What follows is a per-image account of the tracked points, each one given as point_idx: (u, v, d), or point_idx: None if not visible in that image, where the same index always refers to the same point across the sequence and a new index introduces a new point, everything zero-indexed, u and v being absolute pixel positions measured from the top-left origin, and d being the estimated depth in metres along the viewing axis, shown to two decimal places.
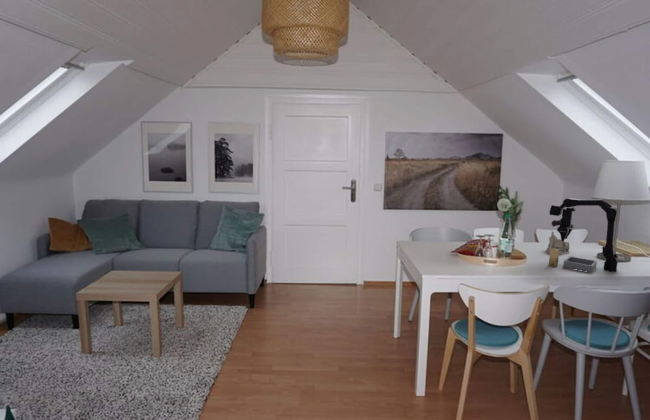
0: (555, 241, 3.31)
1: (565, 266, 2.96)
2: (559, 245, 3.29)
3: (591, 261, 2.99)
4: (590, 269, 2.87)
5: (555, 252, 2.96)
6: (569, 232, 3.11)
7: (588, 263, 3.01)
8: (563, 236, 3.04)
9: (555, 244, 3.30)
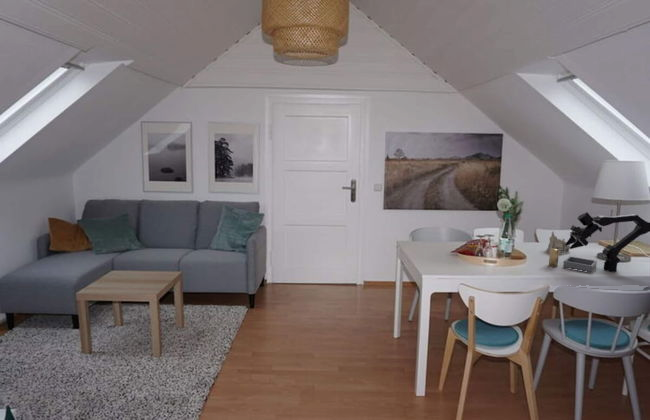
0: (555, 241, 3.31)
1: (565, 266, 2.96)
2: (559, 245, 3.29)
3: (591, 261, 2.99)
4: (590, 269, 2.87)
5: (555, 252, 2.96)
6: (573, 242, 3.00)
7: (588, 263, 3.01)
8: (575, 245, 2.90)
9: (555, 244, 3.29)
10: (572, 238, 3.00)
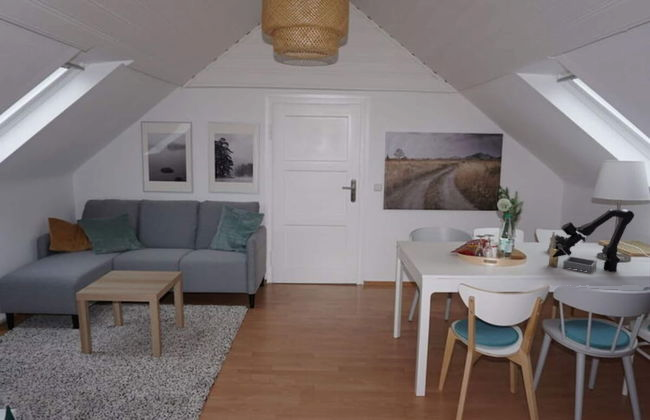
0: None
1: (565, 266, 2.96)
2: None
3: (591, 261, 2.99)
4: (590, 269, 2.87)
5: (555, 252, 2.96)
6: None
7: (588, 263, 3.01)
8: (558, 254, 2.95)
9: None
10: (557, 248, 3.01)
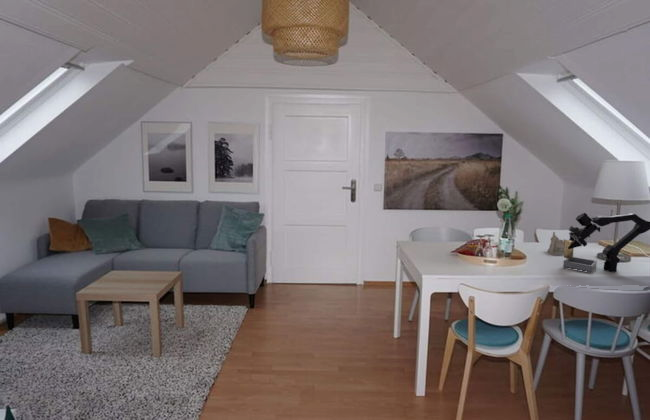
0: (557, 242, 3.29)
1: (565, 266, 2.96)
2: (561, 246, 3.28)
3: (591, 261, 2.99)
4: (590, 269, 2.87)
5: (570, 243, 2.94)
6: None
7: (588, 263, 3.01)
8: (573, 245, 2.92)
9: (557, 245, 3.28)
10: (572, 239, 2.99)
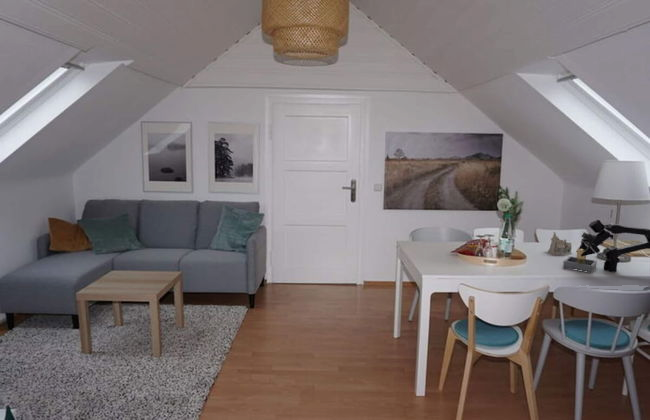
0: (557, 242, 3.29)
1: (565, 266, 2.96)
2: (562, 246, 3.27)
3: (591, 261, 2.99)
4: (590, 269, 2.87)
5: None
6: None
7: (588, 263, 3.01)
8: (587, 253, 2.90)
9: (558, 245, 3.28)
10: (583, 245, 3.00)
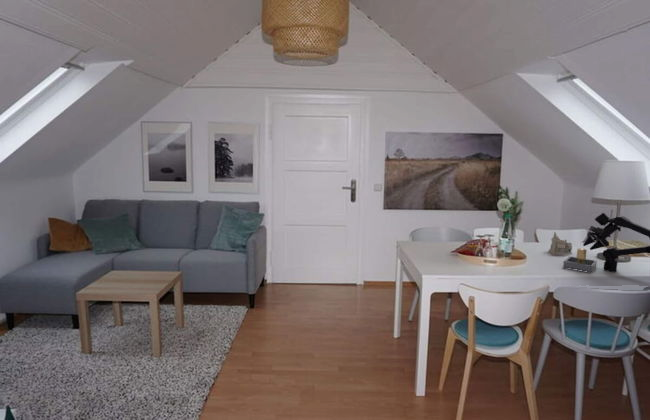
0: (558, 242, 3.28)
1: (565, 266, 2.96)
2: (562, 246, 3.27)
3: (591, 261, 2.99)
4: (590, 269, 2.87)
5: (582, 252, 2.94)
6: (591, 242, 2.99)
7: (588, 263, 3.01)
8: (596, 246, 2.89)
9: (558, 245, 3.27)
10: (590, 238, 2.99)
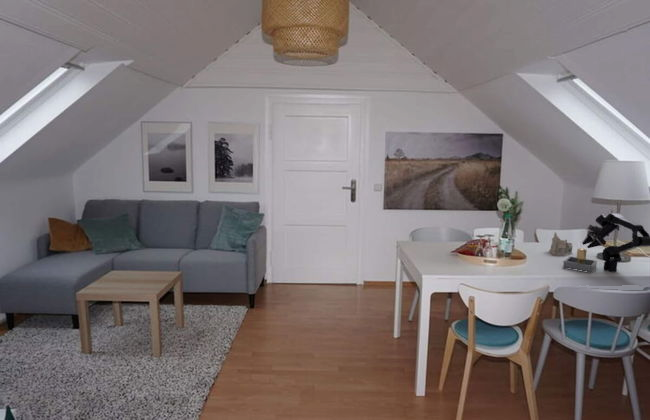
0: (558, 242, 3.28)
1: (565, 266, 2.96)
2: (563, 246, 3.26)
3: (591, 261, 2.99)
4: (590, 269, 2.87)
5: (582, 252, 2.94)
6: (590, 241, 3.03)
7: (588, 263, 3.01)
8: (593, 245, 2.93)
9: (559, 245, 3.27)
10: (589, 237, 3.03)
